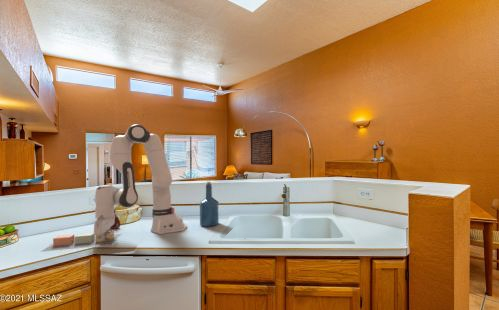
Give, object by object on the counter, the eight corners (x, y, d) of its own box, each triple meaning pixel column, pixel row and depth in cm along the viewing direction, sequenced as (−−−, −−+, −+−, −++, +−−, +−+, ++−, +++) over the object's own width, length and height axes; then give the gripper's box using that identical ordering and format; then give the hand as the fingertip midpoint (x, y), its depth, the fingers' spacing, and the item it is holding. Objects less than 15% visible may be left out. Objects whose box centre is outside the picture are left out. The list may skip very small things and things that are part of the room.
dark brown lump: (115, 231, 145) (115, 215, 145) (98, 231, 146) (97, 215, 146) (122, 227, 151) (122, 212, 151) (106, 227, 153) (105, 212, 153)
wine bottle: (203, 228, 147) (202, 183, 147) (197, 223, 159) (196, 181, 159) (222, 225, 154) (221, 182, 154) (215, 220, 166) (214, 180, 166)
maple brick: (114, 237, 129) (114, 231, 129) (111, 240, 126) (111, 233, 126) (98, 239, 128) (98, 232, 128) (95, 242, 124) (95, 234, 124)
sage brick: (94, 239, 127) (94, 232, 127) (91, 242, 123) (91, 235, 123) (78, 241, 125) (78, 234, 125) (74, 243, 121) (74, 236, 121)
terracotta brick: (74, 241, 125) (74, 234, 125) (70, 244, 121) (70, 237, 121) (57, 243, 123) (57, 235, 123) (53, 246, 119) (53, 238, 119)
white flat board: (121, 235, 136) (121, 233, 136) (111, 246, 120) (111, 244, 120) (60, 241, 129) (60, 239, 129) (40, 253, 112) (40, 251, 112)
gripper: (103, 218, 117) (104, 244, 117) (116, 209, 137) (117, 231, 137) (90, 219, 116) (90, 245, 116) (105, 209, 136) (105, 232, 136)
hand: (105, 237), depth 127 cm, fingers closed on maple brick, 4 cm apart
